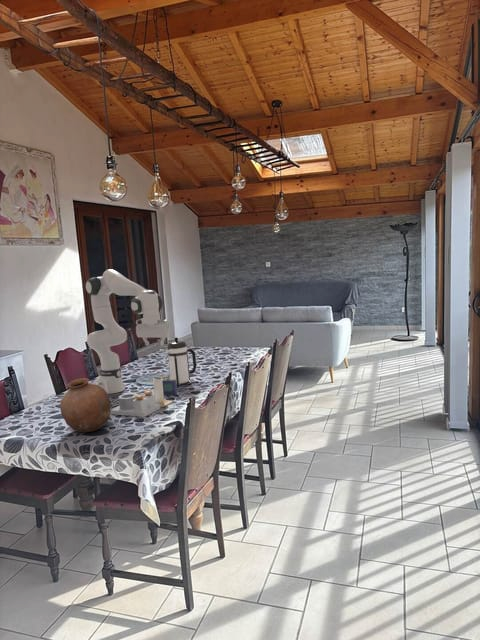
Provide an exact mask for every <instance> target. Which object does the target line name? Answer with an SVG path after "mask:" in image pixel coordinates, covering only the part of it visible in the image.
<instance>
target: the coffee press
mask: <svg viewBox="0 0 480 640" xmlns="http://www.w3.org/2000/svg"><path fill="white" fill-rule="evenodd" d="M165 352H166V353H167V361H168V367H169V368H168V370H169V377H170V379H169V380H173V379H176V384H177V388H179V387H180V385H182V384H186V383H188V384H190V385H191V384H192V383H193V380H191V376H190V375H191V374H194V373H195V372H196V371H197V358H196V353H195V351H194V350H193V349H191V348H188V344H187V343H186V341H184V340H179V338H178V337H174V340H173V341H170V342H168V343H167V346H166V350H165ZM188 353H190V354H191V356H192V357H191V358H192V369H191V370H190V366H189V365H190V364H189V354H188Z"/></svg>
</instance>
